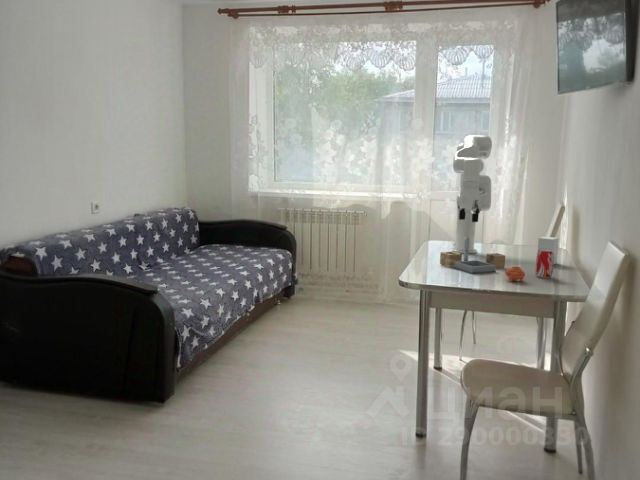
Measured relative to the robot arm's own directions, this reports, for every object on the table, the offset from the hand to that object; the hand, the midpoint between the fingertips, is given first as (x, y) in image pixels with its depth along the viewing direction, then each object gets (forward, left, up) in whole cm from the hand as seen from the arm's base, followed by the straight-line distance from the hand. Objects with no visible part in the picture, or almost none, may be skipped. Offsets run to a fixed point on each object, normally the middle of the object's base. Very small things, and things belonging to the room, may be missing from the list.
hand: (468, 220), depth 282 cm
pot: (+40, -6, -21) cm, 45 cm away
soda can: (+38, +12, -21) cm, 45 cm away
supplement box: (+15, +37, -21) cm, 45 cm away
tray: (+16, -8, -20) cm, 27 cm away
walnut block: (+14, +6, -20) cm, 25 cm away
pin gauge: (0, 0, -20) cm, 20 cm away
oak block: (+4, -12, -20) cm, 24 cm away
